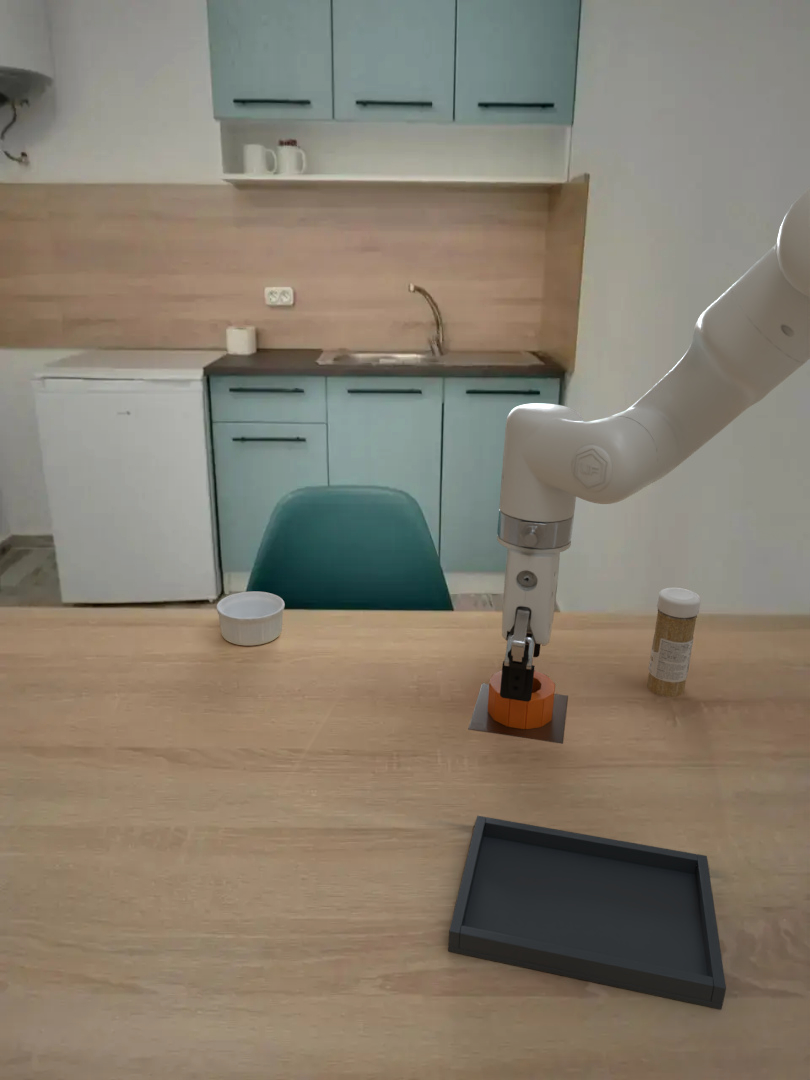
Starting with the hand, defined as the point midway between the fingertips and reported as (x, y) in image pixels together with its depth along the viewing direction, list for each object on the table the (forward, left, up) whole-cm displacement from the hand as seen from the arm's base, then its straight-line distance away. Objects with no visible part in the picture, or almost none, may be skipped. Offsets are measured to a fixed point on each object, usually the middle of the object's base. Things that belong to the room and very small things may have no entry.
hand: (520, 675), depth 90 cm
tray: (-8, +26, -6) cm, 28 cm away
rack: (0, 0, -6) cm, 6 cm away
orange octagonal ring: (0, 0, -4) cm, 4 cm away
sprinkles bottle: (-16, -10, -6) cm, 20 cm away
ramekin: (+37, -12, -6) cm, 39 cm away
